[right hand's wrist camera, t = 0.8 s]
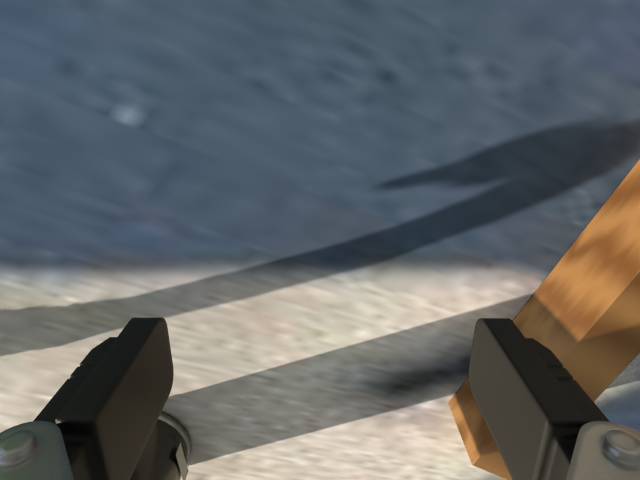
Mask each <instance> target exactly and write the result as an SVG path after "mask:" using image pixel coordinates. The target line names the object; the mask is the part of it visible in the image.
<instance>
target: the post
mask: <svg viewBox="0 0 640 480" xmlns="http://www.w3.org/2000/svg"><path fill="white" fill-rule="evenodd" d="M513 322H514V324H515V325H516V326H517V328H518V329H519V330H520V332H521V333H522V334H523V336H524V337H525V338H533V339H535V340H536V341H538V342H539V343H541V344H542V345H544V346H545V347H547V348H548V349H550V350H551V351H552V352H553V353H554V355H555V356H556V357H557V358H558V360H559V361H560V362H561V363H562V364H563V368H566V369H567V370H568V372H569V373H570V374H571V375H572V377H573V380H576V381H577V383H578V384H579V385H580V386H581V387H582V389H583V390H584V391H585V392H586V394H587V395H588V396H589V397H590V398H591V400H592V401H593V402H594V401H595V400H596V399H597V398H598V397H599V396H600V395H601V393H602V392H603V391H604V390H605V389H606V388H607V387H608V386H609V385H610V384H611V383H612V382H613V381H614V379H615V378H616V377H617V376H618V375H619V374H620V373H621V372H622V371H623V370H624V369H625V368H626V367H627V366H628V364H629V363H630V362H631V361H632V360H633V359H634V358H635V357H636V356H637V355H638V354H639V353H640V159H639V161H638V162H637V163H636V164H635V166H634V167H633V168H632V170H631V171H630V172H629V173H628V175H627V176H626V177H625V178H624V180H623V181H622V182H621V184H620V185H619V186H618V187H617V189H616V190H615V191H614V192H613V194H612V195H611V196H610V198H609V199H608V200H607V201H606V203H605V204H604V205H603V206H602V208H601V209H600V210H599V212H598V213H597V214H596V215H595V217H594V218H593V219H592V220H591V222H590V223H589V224H588V226H587V227H586V228H585V229H584V231H583V232H582V233H581V234H580V236H579V237H578V238H577V240H576V241H575V242H574V243H573V245H572V246H571V247H570V248H569V250H568V251H567V252H566V254H565V255H564V256H563V257H562V259H561V260H560V261H559V263H558V264H557V265H556V266H555V268H554V269H553V270H552V271H551V273H550V274H549V275H548V277H547V278H546V279H545V280H544V282H543V283H542V284H541V285H540V287H539V288H538V289H537V291H536V292H535V293H534V294H533V296H532V297H531V298H530V299H529V301H528V302H527V303H526V305H525V306H524V307H523V308H522V310H521V311H520V312H519V313H518V315H517V316H516V317H515V319H514V320H513ZM448 404H449V406H450V409H451V411H452V414H453V417H454V419H455V422H456V424H457V427H458V429H459V432H460V435H461V437H462V440H463V442H464V445H465V448H466V450H467V453H468V455H469V458H470V460H471V463H472V465H474V466H476V467H478V468H481V469H483V470H486V471H488V472H490V473H493V474H495V475H497V476H500V477H502V478H504V479H507V480H512V477H511V475H510V473H509V471H508V469H507V467H506V465H505V462H504V460H503V458H502V456H501V454H500V452H499V450H498V448H497V445H496V443H495V441H494V439H493V437H492V435H491V433H490V431H489V428H488V426H487V424H486V422H485V420H484V418H483V416H482V414H481V411H480V409H479V407H478V405H477V403H476V401H475V399H474V396H473V394H472V391H471V388H470V383H469V377H468V378H467V380H466V381H465V382H464V384H463V385H462V386H461V387H460V389H459V390H458V391H457V392H456V394H455V395H454V396H453V398H452V399H451V400H450V401H449V403H448Z"/></svg>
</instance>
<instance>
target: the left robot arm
mask: <svg viewBox="0 0 640 480" xmlns="http://www.w3.org/2000/svg"><path fill="white" fill-rule="evenodd" d="M190 452H191V441H190V437H189V435H188V433H187V431H186V430H185V428H184V427H183V426H182V425H181V424H180V423H179V422H178V421H177V420H176V419H174V418H173V417H171V416H169V415H167V414H165V413H163V412H161V413H160V416H159V418H158V420H157V422H156V424H155V426H154V429H153V431H152V433H151V435H150V437H149V439H148V441H147V444H146V446H145V448H144V450H143V452H142V454H141V457H140V459H139V461H138V463H137V465H136V467H135V469H134V472H133V474H132V476H131V478H130V480H180V479H181V476H182V478H183V480H185V479H186V476H187V473H188V467H187V461H188V458H189V455H190Z"/></svg>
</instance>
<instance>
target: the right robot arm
mask: <svg viewBox="0 0 640 480" xmlns="http://www.w3.org/2000/svg"><path fill="white" fill-rule="evenodd" d="M172 383H173V363H172V356H171V349H170V342H169V335H168V328H167V324H166V321H165V319H164V318H132V319H131V320H130V321H129V322H128V324H127V325H126V326H125V328H124V329H123V330H122V332H121V333H120V334H119V336H118V337H110V338H108V339H107V340H105V341H104V342H102V343H101V344H99V345H98V346H96V347H95V348H93V349H92V350H91V351H90V352H89V354H88V355H87V356H86V357H85V358H84V360H83V361H82V362H81V363H80V367H77V368H76V370H75V371H74V372H73V373H72V374H71V376H70V379H67V381H66V382H65V383H64V384H63V385H62V387H61V388H60V389H59V390H58V392H57V393H56V394H55V395H54V397H53V398H52V399H51V400H50V401H49V403H48V404H47V405H46V406H45V408H44V409H43V410H42V411H41V412H40V414H39V415H38V416H37V417H36V419H35V420H34V421H33V422H27V423H23V424H20V425H17V426H14V427H12V428H9V429H7V430H5V431H3V432H1V433H0V480H130V478H131V476H132V474H133V472H134V469H135V467H136V465H137V463H138V461H139V459H140V457H141V454H142V452H143V450H144V448H145V446H146V444H147V441H148V439H149V437H150V435H151V433H152V431H153V429H154V426H155V424H156V422H157V420H158V418H159V416H160V413H161V411H162V409H163V407H164V405H165V403H166V400H167V398H168V396H169V394H170V391H171V388H172ZM469 383H470V388H471V391H472V394H473V396H474V399H475V401H476V403H477V405H478V407H479V409H480V411H481V414H482V416H483V418H484V420H485V422H486V424H487V426H488V428H489V431H490V433H491V435H492V437H493V439H494V441H495V443H496V445H497V448H498V450H499V452H500V454H501V456H502V458H503V460H504V462H505V465H506V467H507V469H508V471H509V473H510V475H511V477H512V480H640V433H639V432H637V431H635V430H633V429H631V428H628V427H626V426H623V425H620V424H617V423H613V422H609V420H608V419H607V418H606V417H605V415H604V414H603V413H602V412H601V411H600V409H599V408H598V407H597V406H596V405H595V403H594V402H593V401H592V400H591V398H590V397H589V396H588V395H587V394H586V392H585V391H584V390H583V389H582V387H581V386H580V385H579V384H578V383H577V381H576V380H573V377H572V375H571V374H570V373H569V372H568V370H567V369H566V368H563V364H562V363H561V362H560V361H559V360H558V358H557V357H556V356H555V355H554V353H553V352H552V351H551V350H550V349H548V348H547V347H545V346H544V345H542V344H541V343H539V342H538V341H536V340H535V339H533V338H525V337H524V336H523V334H522V333H521V332H520V330H519V329H518V328H517V326H516V325H515V324H514V322H513V321H512V320H511V319H478V321H477V322H476V326H475V332H474V338H473V345H472V352H471V358H470V365H469Z"/></svg>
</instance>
